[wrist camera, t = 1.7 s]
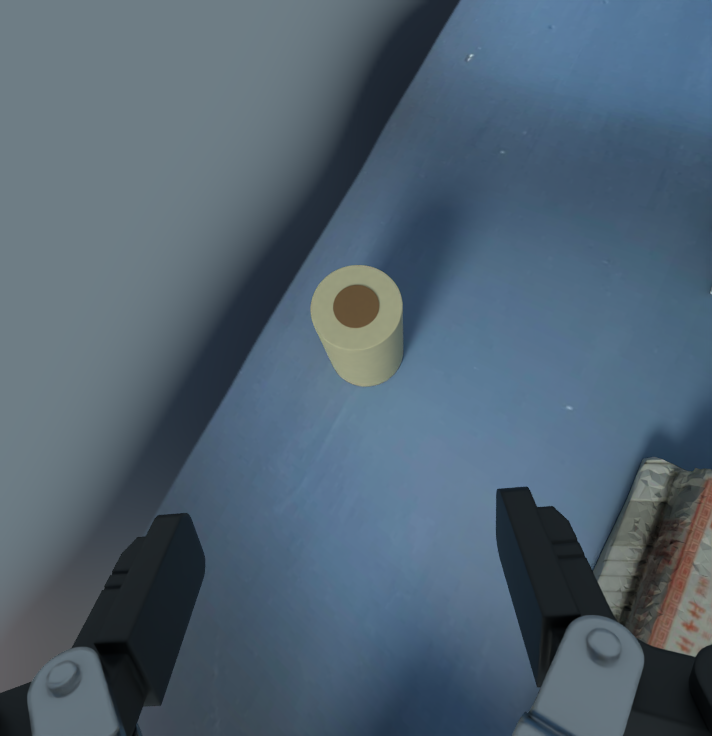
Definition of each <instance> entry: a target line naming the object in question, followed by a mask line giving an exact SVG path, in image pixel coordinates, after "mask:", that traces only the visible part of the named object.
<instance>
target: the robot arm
mask: <svg viewBox="0 0 712 736" xmlns="http://www.w3.org/2000/svg"><path fill="white" fill-rule="evenodd" d="M496 540H497V547H498V552H499V557H500V561H501V564H502V567H503V571H504V574H505V578H506V581H507V585H508V588H509V592H510V595H511V599H512V602H513V605H514V609H515V612H516V616H517V619H518V623H519V626H520V630H521V633H522V637H523V640H524V643H525V647H526V650H527V654H528V657H529V661H530V664H531V668H532V671H533V675H534V678H535V682H536V685H537V687H541V688H540V690H539V692H538V695H537V697H536V699H535V701H534V704H533V706H532V708H531V709H530V711H529V712H528V713H527V712H525V713H524V714H523V715H522V716H521V718H520V720H519V721H518V723H517V725H516V728H515V730H514V732H513V734H512V736H712V645H708V646H706V647H704V648H702V649H701V650H700V651H699V652H698V654H697V655H696V657H694V656H690V655H686V654H682V653H677V652H673V651H669V650H665V649H661V648H657V647H654V646H651V645H649V644H647V643H644V642H643V641H641V640H639V639H637V638H636V637H635V636H634V635H633V634H632V633H631V632H630V631H629V630H628V629H627V628H626V627H624V626H623V625H621V624H620V623H619V622H618V621H617V619H616V618H615V616H614V615H613V613H612V611H611V609H610V607H609V605H608V603H607V601H606V598H605V596H604V594H603V592H602V590H601V588H600V586H599V584H598V582H597V579H596V577H595V575H594V573H593V571H592V569H591V567H590V565H589V563H588V561H587V558H585V556H584V552H583V550H582V548H581V546H580V544H579V543H578V541H577V537H576V535H575V533H574V531H573V529H572V527H571V525H570V523H569V521H568V520H567V519H566V518H565V517H564V516H563V515H562V514H561V513H560V512H558V511H557V510H556V509H555V508H554V507H553V506H548V507H537V506H536V504H535V501H534V499H533V497H532V494H531V492H530V490H529V488H528V487H515V488H503V489H497V493H496ZM204 574H205V556H204V552H203V549H202V546H201V544H200V541H199V538H198V535H197V533H196V530H195V527H194V525H193V522H192V519H191V517H190V515H189V514H188V513H180V514H167V515H158V516H157V517H156V518H155V519H154V521H153V523H152V525H151V527H150V529H149V531H148V533H147V535H146V537H137V538H136V540H134V542H133V543H132V544H131V545H130V546H129V547H128V548H127V549H126V550H125V551H124V552H123V553H122V554H121V556H120V558H119V560H118V562H117V563H116V565H115V567H114V569H113V571H112V575H110V577H109V579H108V580H107V582H106V584H105V589H104V590H102V592H101V594H100V596H99V597H98V599H97V601H96V603H95V605H94V607H93V609H92V611H91V613H90V615H89V616H88V618H87V620H86V622H85V624H84V626H83V628H82V630H81V631H80V633H79V635H78V637H77V639H76V641H75V643H74V645H73V646H72V648H71V649H69V650H66V651H64V652H62V653H60V654H58V655H57V656H55V657H54V658H52V659H51V660H50V661H49V662H47V663H46V664H45V665H44V666H43V667H42V669H40V671H39V672H38V673H37V675H36V676H35V677H34V679H33V681H32V682H29V683H27V684H24V685H21V686H19V687H16V688H13V689H11V690H8V691H5V692H2V693H0V736H142V733H141V730H140V727H139V725H138V723H137V721H138V719H139V716H140V713H141V710H142V708H143V706H161V704H162V701H163V698H164V695H165V692H166V689H167V686H168V683H169V680H170V677H171V674H172V671H173V668H174V665H175V662H176V659H177V656H178V653H179V650H180V647H181V644H182V641H183V638H184V635H185V632H186V629H187V626H188V623H189V620H190V617H191V614H192V611H193V608H194V605H195V602H196V599H197V596H198V593H199V590H200V587H201V584H202V581H203V578H204Z"/></svg>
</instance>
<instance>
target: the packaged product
mask: <svg viewBox="0 0 712 736" xmlns="http://www.w3.org/2000/svg"><path fill="white" fill-rule="evenodd" d="M593 573H594V575H595V577H596V579H597V582H598V584H599V586H600V588H601V590H602V592H603V594H604V596H605V598H606V601H607V603H608V605H609V607H610V609H611V611H612V613H613V615H614V616H615V618H616V619H617V621H618V622H619V623H620V624H621V625H623V626H624V627H626V628H627V629H628V630H629V631H630V632H631V633H632V634H633V635H634V636H635V637H636V638H637V639H639V640H641V641H643V642H644V643H647V644H649V645H651V646H654V647H657V648H661V649H665V650H669V651H673V652H677V653H682V654H686V655H690V656H694V657H696V655H697V654H698V652H699V651H700V650H701V649H702V648H704V647H706V646H708V645H712V470H711V469H705V468H704V469H697V468H695V469H694V471H686V470H684V469H682V468H680V467H678V466H676V465H674V464H671V463H669V462H667V461H665V460H663V459H660V458H656V457H650V458H645V459H643V460H642V463H641V465H640V468H639V470H638V473H637V475H636V478H635V480H634V483H633V485H632V488H631V490H630V493H629V495H628V498H627V500H626V502H625V504H624V506H623V508H622V511H621V513H620V515H619V517H618V519H617V521H616V523H615V525H614V527H613V529H612V532H611V534H610V536H609V538H608V540H607V542H606V544H605V546H604V548H603V551H602V553H601V555H600V557H599V559H598V562H597V564H596V566H595V568H594V570H593Z"/></svg>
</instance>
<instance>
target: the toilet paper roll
mask: <svg viewBox="0 0 712 736" xmlns="http://www.w3.org/2000/svg"><path fill="white" fill-rule="evenodd" d="M311 318H312V322H313V324H314V327H315V329H316V331H317V333H318V335H319V337H320V340H321V342H322V344H323V346H324V348H325V350H326V352H327V354H328V357H329V359H330V361H331V363H332V365H333V367H334V369H335V371H336V372H337V373H338V375H339V376H340V377H341V378H343V379H344V380H345V381H347V382H349V383H351V384H354V385H357V386H374V385H378V384H381V383H383V382H385V381H386V380H388V379H389V378H391V377H392V376H393V375H394V374H395V372H396V371H397V370H398V368H399V366H400V364H401V361H402V358H403V303H402V297H401V294H400V291H399V289H398V287H397V285H396V284H395V282H394V281H393V280H392V279H391V278H390V277H389V276H388V275H387V274H385V273H384V272H382V271H380V270H378V269H376V268H373V267H370V266H365V265H352V266H347V267H343V268H340V269H338V270H336V271H334V272H332V273H331V274H329V275H328V276H327V277H326V278H325V279H323V280H322V282H321V283H320V284H319V285H318V287H317V288H316V290H315V292H314V295H313V298H312V301H311Z"/></svg>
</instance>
